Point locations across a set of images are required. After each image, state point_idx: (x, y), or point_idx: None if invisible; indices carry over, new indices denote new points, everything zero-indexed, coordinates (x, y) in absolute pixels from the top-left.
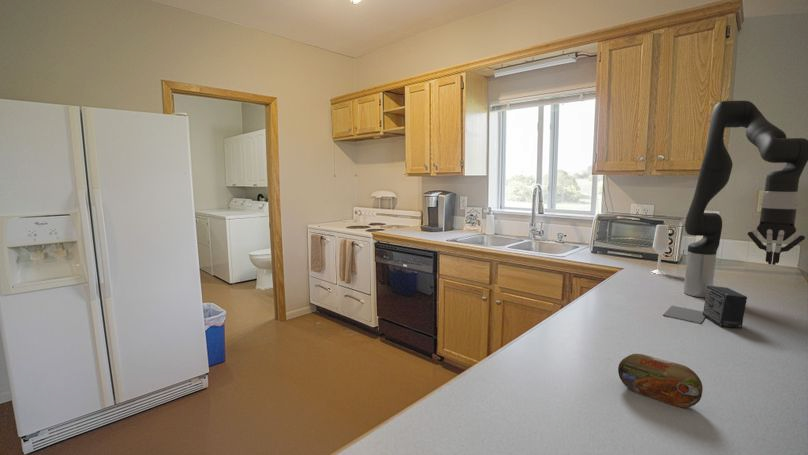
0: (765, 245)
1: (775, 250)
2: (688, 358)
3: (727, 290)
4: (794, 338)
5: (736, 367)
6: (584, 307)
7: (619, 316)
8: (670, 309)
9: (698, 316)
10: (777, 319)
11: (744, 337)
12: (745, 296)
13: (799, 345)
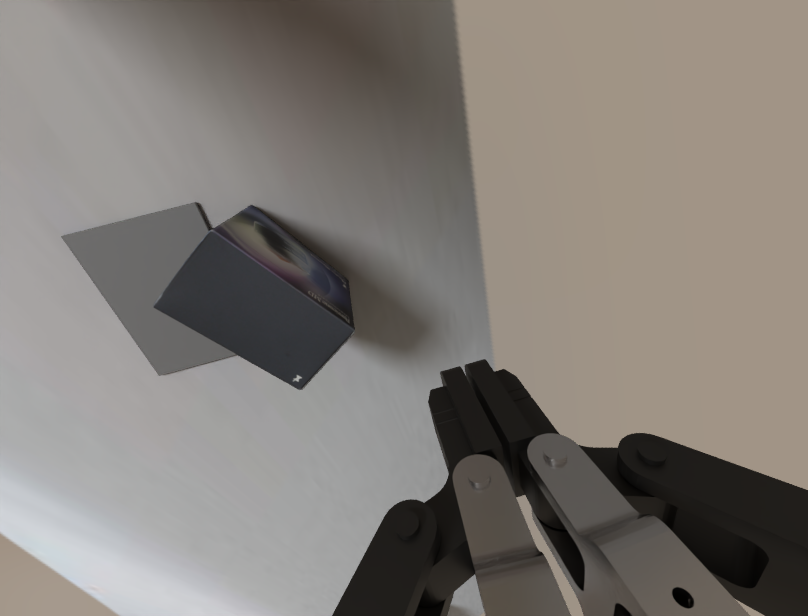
0: (455, 551)
1: (541, 522)
2: (370, 527)
3: (261, 314)
4: (465, 236)
5: (429, 496)
6: (9, 502)
7: (124, 477)
8: (112, 297)
9: None
10: (375, 4)
11: (383, 348)
12: (349, 333)
13: (482, 288)
